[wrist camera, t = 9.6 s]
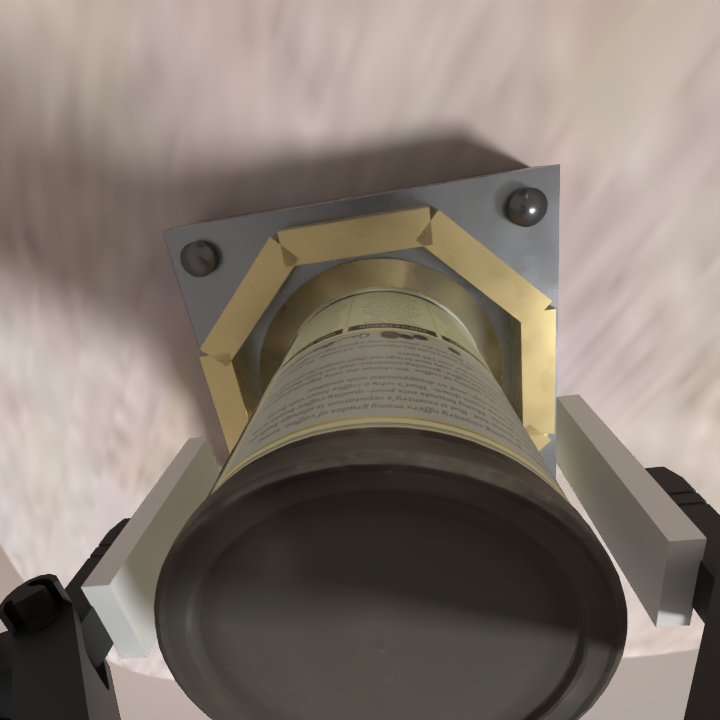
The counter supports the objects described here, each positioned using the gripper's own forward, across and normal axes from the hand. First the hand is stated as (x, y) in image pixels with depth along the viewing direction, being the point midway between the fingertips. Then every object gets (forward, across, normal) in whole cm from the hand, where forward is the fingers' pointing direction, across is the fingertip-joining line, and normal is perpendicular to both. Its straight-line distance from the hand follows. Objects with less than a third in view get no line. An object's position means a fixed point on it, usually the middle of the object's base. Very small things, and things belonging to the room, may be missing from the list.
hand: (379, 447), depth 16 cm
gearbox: (+11, 0, 0) cm, 11 cm away
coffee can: (+7, 0, 0) cm, 7 cm away
